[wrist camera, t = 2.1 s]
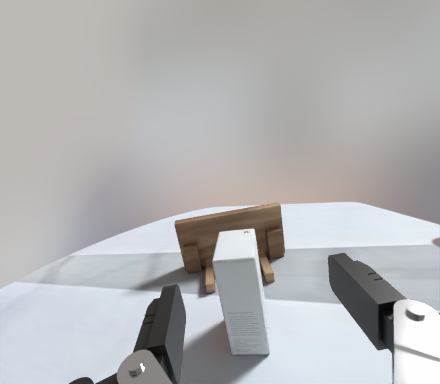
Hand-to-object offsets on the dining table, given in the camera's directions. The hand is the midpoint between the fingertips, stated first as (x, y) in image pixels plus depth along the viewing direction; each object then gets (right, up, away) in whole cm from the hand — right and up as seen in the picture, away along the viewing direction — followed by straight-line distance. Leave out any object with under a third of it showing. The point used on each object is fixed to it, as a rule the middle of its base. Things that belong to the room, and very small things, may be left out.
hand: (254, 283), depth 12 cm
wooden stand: (+1, -8, +27) cm, 28 cm away
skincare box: (+2, -12, +15) cm, 19 cm away
